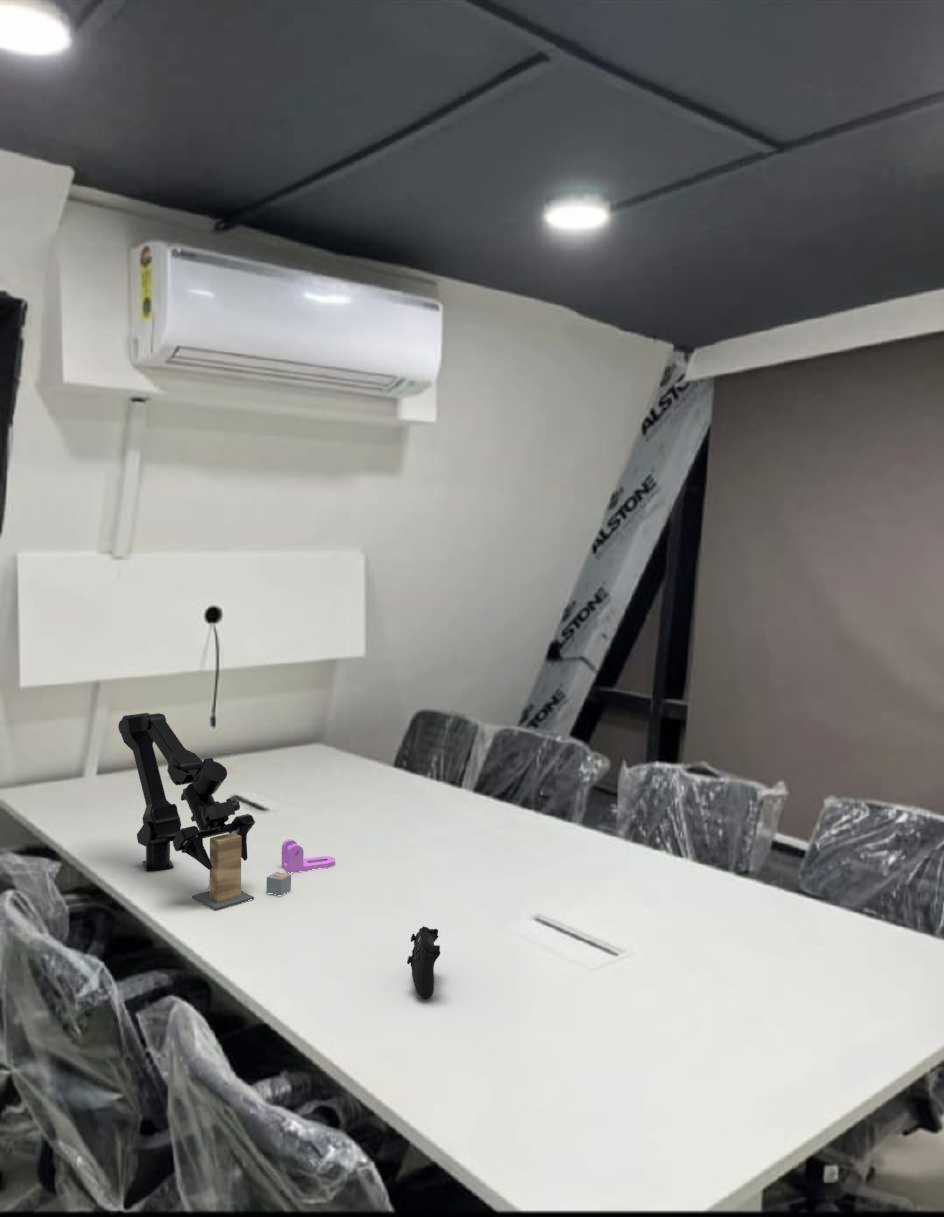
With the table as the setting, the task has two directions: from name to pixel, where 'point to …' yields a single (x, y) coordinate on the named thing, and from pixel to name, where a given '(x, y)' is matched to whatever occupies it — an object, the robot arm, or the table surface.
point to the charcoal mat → (216, 906)
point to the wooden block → (225, 867)
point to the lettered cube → (279, 883)
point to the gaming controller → (424, 960)
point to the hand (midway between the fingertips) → (228, 864)
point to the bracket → (301, 858)
